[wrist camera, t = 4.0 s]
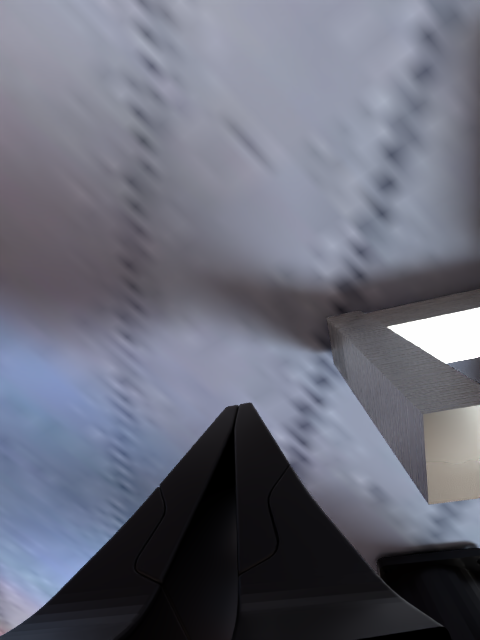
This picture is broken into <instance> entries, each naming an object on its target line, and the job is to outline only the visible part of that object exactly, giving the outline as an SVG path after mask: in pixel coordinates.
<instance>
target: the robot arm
mask: <svg viewBox="0 0 480 640" xmlns="http://www.w3.org/2000/svg"><path fill="white" fill-rule="evenodd" d="M377 570H378V575H377V574H376V573H375V571H374V570H373V569H372V568H371V567H370V566H369V565H368V564H367V562H366V561H365V560H364V559H363V558H362V557H361V555H360V554H359V553H358V552H357V551H356V549H355V548H354V547H353V546H352V545H351V544H350V542H349V541H348V540H347V539H346V538H345V536H344V535H343V534H342V533H341V532H340V531H339V529H338V528H337V527H336V526H335V525H334V523H333V522H332V521H331V520H330V519H329V518H328V516H327V515H326V514H325V513H324V512H323V510H322V509H321V508H320V507H319V505H318V504H317V503H316V501H315V500H314V499H313V498H312V496H311V495H310V494H309V492H308V491H307V490H306V488H305V487H304V485H303V484H302V482H301V481H300V479H299V478H298V476H297V475H296V473H295V471H294V470H293V468H292V467H291V465H290V464H289V462H288V461H287V459H286V457H285V456H284V454H283V452H282V451H281V449H280V448H279V446H278V444H277V443H276V441H275V440H274V438H273V436H272V435H271V433H270V432H269V430H268V428H267V427H266V425H265V424H264V422H263V420H262V419H261V417H260V416H259V414H258V412H257V411H256V409H255V408H254V406H253V404H252V403H244V404H240V405H239V406H238V405H234V406H228V407H226V408H225V409H224V410H223V412H222V413H221V414H220V415H219V416H218V417H217V418H216V420H215V421H214V422H213V423H212V424H211V425H210V427H209V428H208V429H207V430H206V431H205V432H204V434H203V435H202V436H201V437H200V438H199V439H198V441H197V442H196V443H195V444H194V445H193V446H192V448H191V449H190V450H189V451H188V452H187V453H186V455H185V456H184V457H183V458H182V459H181V460H180V462H179V463H178V464H177V465H176V466H175V467H174V469H173V470H172V471H171V472H170V473H169V474H168V476H167V477H166V478H165V479H164V480H163V481H162V483H161V484H160V487H157V488H156V489H155V491H154V492H153V493H152V494H151V495H150V496H149V498H148V499H147V500H146V501H145V502H144V503H143V504H142V506H141V507H140V508H139V509H138V510H137V511H136V512H135V513H134V514H133V516H132V517H131V518H130V519H129V520H128V521H127V522H126V523H125V524H124V525H123V526H122V527H121V528H120V529H119V530H118V531H117V532H116V534H115V535H114V536H113V537H112V538H111V539H110V540H109V541H108V542H107V543H106V544H105V545H104V546H103V547H102V548H101V549H100V550H99V551H98V552H97V553H96V554H95V555H94V556H93V557H92V558H91V559H90V560H89V561H88V562H87V563H86V564H85V565H84V566H83V567H82V568H81V569H80V570H79V571H78V572H77V573H76V574H75V575H74V576H73V577H72V578H71V579H70V580H69V581H68V582H67V583H66V584H65V585H64V586H63V587H62V588H61V590H60V591H59V592H58V593H57V594H56V595H55V596H54V597H52V598H51V599H50V600H49V601H48V602H47V603H46V604H45V605H44V606H43V607H42V608H41V609H39V610H38V611H37V612H36V613H35V614H33V615H32V616H31V617H30V618H28V619H27V620H25V621H24V622H23V623H21V624H20V625H18V626H17V627H15V628H14V629H12V630H10V631H9V632H7V633H6V634H4V635H2V636H0V640H480V548H472V549H462V550H453V551H443V552H434V553H425V554H415V555H406V556H396V557H387V558H381V559H379V560H378V561H377Z"/></svg>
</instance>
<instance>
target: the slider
mask: <svg viewBox="0 0 480 640" xmlns="http://www.w3.org/2000/svg"><path fill="white" fill-rule="evenodd" d="M326 318H327V325H328V331H329V337H330V343H331V349H332V356H333V362H334V365H335V366H336V368H337V369H338V371H339V372H340V374H341V375H342V377H343V378H344V380H345V381H346V383H347V384H348V386H349V387H350V389H351V390H352V392H353V393H354V395H355V396H356V397H357V399H358V400H359V402H360V403H361V405H362V406H363V408H364V409H365V411H366V412H367V414H368V415H369V417H370V418H371V420H372V421H373V423H374V424H375V426H376V427H377V429H378V430H379V432H380V433H381V435H382V436H383V438H384V439H385V441H386V442H387V444H388V445H389V446H390V448H391V449H392V451H393V452H394V454H395V455H396V457H397V458H398V460H399V461H400V463H401V464H402V466H403V467H404V469H405V470H406V472H407V473H408V475H409V476H410V478H411V479H412V481H413V482H414V484H415V485H416V487H417V488H418V490H419V491H420V493H421V494H422V496H423V497H424V498H425V500H426V501H427V503H428V504H437V503H445V502H453V501H461V500H469V499H477V498H480V384H478V383H476V382H475V381H473V380H472V379H470V378H468V377H467V376H465V375H464V374H462V373H460V372H459V371H457V370H455V369H454V368H452V367H451V366H449V365H447V364H446V363H449V362H455V361H460V360H465V359H471V358H476V357H480V289H476V290H471V291H467V292H462V293H457V294H453V295H448V296H443V297H439V298H434V299H429V300H425V301H420V302H415V303H411V304H406V305H401V306H397V307H392V308H387V309H383V310H378V311H373V312H369V313H363V312H362V311H360V310H358V311H354V312H349V313H344V314H340V315H335V316H330V317H326Z"/></svg>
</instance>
